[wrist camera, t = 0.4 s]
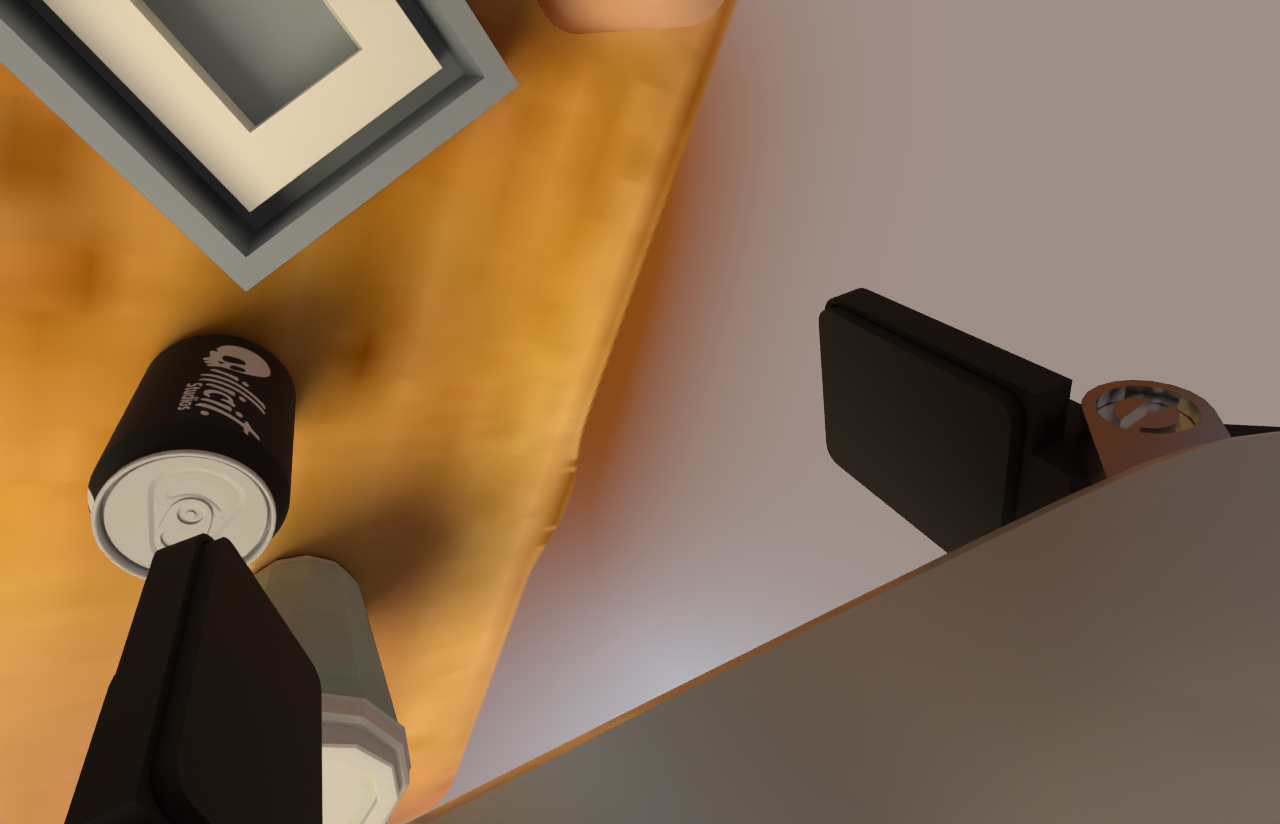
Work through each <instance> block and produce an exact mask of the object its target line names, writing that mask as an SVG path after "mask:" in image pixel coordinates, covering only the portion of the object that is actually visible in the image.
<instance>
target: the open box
mask: <svg viewBox="0 0 1280 824" xmlns="http://www.w3.org/2000/svg"><path fill="white" fill-rule="evenodd" d="M0 62H1V63H3V64H4V65H5V66H6V67H7V68H8V69H9V70H10V71H11V72H12V73H13V74H14V75H15V76H16V77H17V78H19V79H20V80H21V81H22V82H23V83H24V84H25V85H26V86H27V87H28V88H29V89H30V90H31V91H32V92H33V93H35V94H36V95H37V96H38V97H39V98H40V99H41V100H42V101H43V102H44V103H45V104H46V105H47V106H48V107H49V108H50V109H52V110H53V111H54V112H55V113H56V114H57V115H58V116H59V117H60V118H61V119H62V120H63V121H64V122H65V123H66V124H68V125H69V126H70V127H71V128H72V129H73V130H74V131H75V132H76V133H77V134H78V135H79V136H80V137H81V138H82V139H84V140H85V141H86V142H87V143H88V144H89V145H90V146H91V147H92V148H93V149H94V150H95V151H96V152H97V153H98V154H99V155H101V156H102V157H103V158H104V159H105V160H106V161H107V162H108V163H109V164H110V165H111V166H112V167H113V168H114V169H115V170H117V171H118V172H119V173H120V174H121V175H122V176H123V177H124V178H125V179H126V180H127V181H128V182H129V183H130V184H131V185H133V186H134V187H135V188H136V189H137V190H138V191H139V192H140V193H141V194H142V195H143V196H144V197H145V198H146V199H147V200H148V201H150V202H151V203H152V204H153V205H154V206H155V207H156V208H157V209H158V210H159V211H160V212H161V213H162V214H163V215H164V216H166V217H167V218H168V219H169V220H170V221H171V222H172V223H173V224H174V225H175V226H176V227H177V228H178V229H179V230H180V231H182V232H183V233H184V234H185V235H186V236H187V237H188V238H189V239H190V240H191V241H192V242H193V243H194V244H195V245H196V246H198V247H199V248H200V249H201V250H202V251H203V252H204V253H205V254H206V255H207V256H208V257H209V258H210V259H211V260H212V261H213V262H215V263H216V264H217V265H218V266H219V267H220V268H221V269H222V270H223V271H224V272H225V273H226V274H227V275H228V276H229V277H231V278H232V279H233V280H234V281H235V282H236V283H237V284H238V285H239V286H240V287H241V288H242V289H243V290H244V291H245V292H246V291H248V290H249V289H250V288H252V287H253V286H254V285H256V284H257V283H258V282H260V281H261V280H262V279H264V278H265V277H266V276H268V275H269V274H270V273H272V272H273V271H274V270H276V269H277V268H278V267H280V266H281V265H282V264H284V263H285V262H286V261H288V260H289V259H290V258H291V257H293V256H294V255H295V254H297V253H298V252H299V251H301V250H302V249H303V248H305V247H306V246H307V245H309V244H310V243H311V242H313V241H314V240H315V239H317V238H318V237H319V236H321V235H322V234H323V233H325V232H326V231H327V230H329V229H330V228H331V227H333V226H334V225H335V224H337V223H338V222H339V221H340V220H342V219H343V218H344V217H346V216H347V215H348V214H350V213H351V212H352V211H354V210H355V209H356V208H358V207H359V206H360V205H362V204H363V203H364V202H366V201H367V200H368V199H370V198H371V197H372V196H374V195H375V194H376V193H378V192H379V191H380V190H382V189H383V188H384V187H386V186H387V185H388V184H389V183H391V182H392V181H393V180H395V179H396V178H397V177H399V176H400V175H401V174H403V173H404V172H405V171H407V170H408V169H409V168H411V167H412V166H413V165H415V164H416V163H417V162H419V161H420V160H421V159H423V158H424V157H425V156H427V155H428V154H429V153H431V152H432V151H433V150H435V149H436V148H437V147H438V146H440V145H441V144H442V143H444V142H445V141H446V140H448V139H449V138H450V137H452V136H453V135H454V134H456V133H457V132H458V131H460V130H461V129H462V128H464V127H465V126H466V125H468V124H469V123H470V122H472V121H473V120H474V119H476V118H477V117H478V116H480V115H481V114H482V113H484V112H485V111H486V110H487V109H489V108H490V107H491V106H493V105H494V104H495V103H497V102H498V101H499V100H501V99H502V98H503V97H505V96H506V95H507V94H509V93H510V92H511V91H513V90H514V89H515V88H517V87H518V86H519V84H518V83H517V81H516V80H515V78H514V76H513V75H512V73H511V72H510V70H509V69H508V67H507V65H506V64H505V62H504V61H503V59H502V57H501V56H500V54H499V53H498V51H497V50H496V48H495V46H494V45H493V43H492V42H491V40H490V39H489V37H488V35H487V34H486V32H485V31H484V29H483V28H482V26H481V24H480V23H479V21H478V20H477V18H476V17H475V15H474V13H473V12H472V10H471V9H470V7H469V6H468V4H467V2H466V1H465V0H0Z"/></svg>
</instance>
